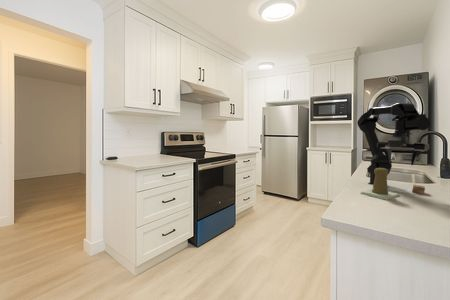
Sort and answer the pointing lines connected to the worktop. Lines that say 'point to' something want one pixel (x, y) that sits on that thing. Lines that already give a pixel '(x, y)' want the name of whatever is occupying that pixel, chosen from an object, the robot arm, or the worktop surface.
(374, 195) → the baseplate
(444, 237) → the worktop surface
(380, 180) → the cork
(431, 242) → the worktop surface
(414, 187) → the brick
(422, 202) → the worktop surface
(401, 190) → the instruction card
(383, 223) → the worktop surface
